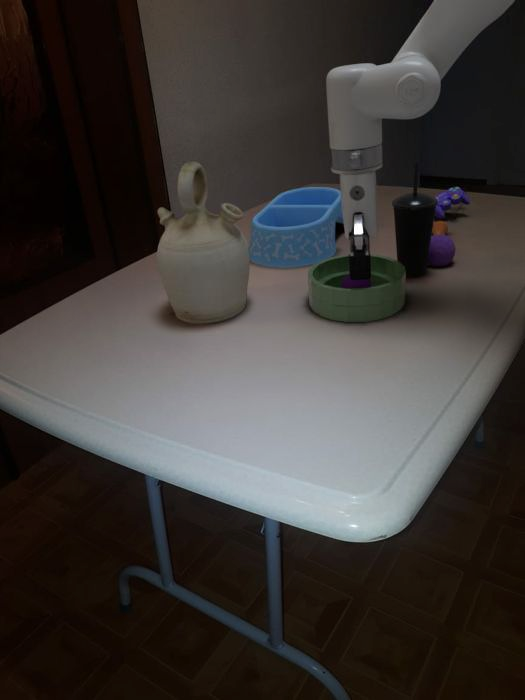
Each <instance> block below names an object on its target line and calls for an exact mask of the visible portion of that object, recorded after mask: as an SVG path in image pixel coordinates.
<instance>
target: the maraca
mask: <svg viewBox="0 0 525 700" xmlns="http://www.w3.org/2000/svg"><path fill="white" fill-rule="evenodd" d="M448 230H449V226H448V224H447V223H446V222H445V221H443V220H438V221H434V222H433V228H432V235H431V241H430V248H429V254H428V261H427V266H433V267H434V268H435V267H438V268H440V267H444V266H447V265H449V264H450V263H451V262H452V261H453V260H454V257H455V256H456V245H455V242H454V240H453V239H452V238H451V237H450V236H448V235H447V233H448Z"/></svg>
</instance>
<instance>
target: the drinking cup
mask: <svg viewBox="0 0 525 700" xmlns="http://www.w3.org/2000/svg"><path fill="white" fill-rule="evenodd" d="M419 163H420V162H419V161H415V162H414V165H413V187H412V192H409V193H405V194H402V195H400V196H399V197H396V198H394V199H393V200H392V201H391V205H392V207H393V217H394V233H395V246H396V247H395V249H396V261H399V262H400V263H401V264H402V265H403V266H404V267H405V271H406V278H419V277H422V276H425V274H426V272H427V267H428V264H427V261H428V254H429V248H430V241H431V236H433V233H432V228H433V224H434V223H435V216H436V215H435V209H436V205H437V204H438V199H437V198H435V196H432V195H430V194H428V193H423V192H418V185H419Z"/></svg>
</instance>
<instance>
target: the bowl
mask: <svg viewBox="0 0 525 700" xmlns="http://www.w3.org/2000/svg"><path fill="white" fill-rule="evenodd" d="M349 255H350V253H348V254H344V255H336V256H332V257H330V258H328V259H325V260H322V261H320V262H318V263H316V264H312V265H311V267H310V268H309V269H308V273H307V286H308V303H309V307H310V309H311V311H312V312H314V313H315V314H317V315H318V316H320V317H321V318H325V319H328V320H331V321H334V322H335V321H337V322H342V323H343V322H344V323H366V322H374V321H379V320H383V319H385V318H388V317H390V316H393V315H395V314H396V313H398V312H400V311H401V310H402V308H403V306H404V305H405V303H406V281H407V280H406V278H407V277H406V271H405V267H404V266H403V265H402V264H401V263H400V262H399V261H397V259H393V258H392V257H388V256H385V255H379V254H371V253H370V256H371V278H370V280H371V283H372V287H369V288H359V289H346V288H341V285H342V282H343V280H344V278H345V277H346V276H347V275H348V274H350V267H349Z"/></svg>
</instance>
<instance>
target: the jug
mask: <svg viewBox="0 0 525 700" xmlns="http://www.w3.org/2000/svg"><path fill="white" fill-rule="evenodd" d="M207 177H208V176H207V173H206V170H205V168H204V167H203V165H201V164H200V163H199V162H197V161H188V162H186V163H184V164H183V165H182V166H181V168H180V170H179V173H178V178H177V197H178V202H179V205H180V207H181V209H182V211H184V212H185V215H184V216H181V217H176V215H175V212H174V211H171V210H168V209H166V208H165V207H164V206H163V207H162V206H161V207H159V208H158V209H157V216H158V218H159V219H160V220H159V224H160V225H162V226H164V231H163V233H162V235H161V236H160V239H159V243H158V245H157V251H156V269H157V273H158V274H159V279H160V280H161V283H162V286H163V288H164V291H165V294H166V296H167V299H168V301H169V303H170V307H171V308H172V309H173V312H174V315H175V317H176V318H177V319H179V320H181V321H183V322H185V323H189V324H211V323H212V324H213V323H217V322H218V323H219V322H222V321H226V320H229V319H231V318H233V317H235V316H237V315H239V314H240V313H242V312H243V311H244V309H245V308H246V302H247V299H248V298H247V297H248V286H249V280H250V263H251V260H250V256H249V245H248V242H247V239H246V238H245V236H244V234H243V233H242V231H241V229H240V228H239V227H238V226H237V225H236V222H238V221H240V220H241V219H243V217H244V213H243V211H242V210H241V209H240V208H239V207H237V206H236V205H235V204H233V203H229V202H223V203H221V204H220V211H219V212H220V213H219V214H215V213H212V212H210V211H209V210H208V209H207V208H206V204H207V201H208V191H209V187H208V186H209V185H208V178H207Z"/></svg>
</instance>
